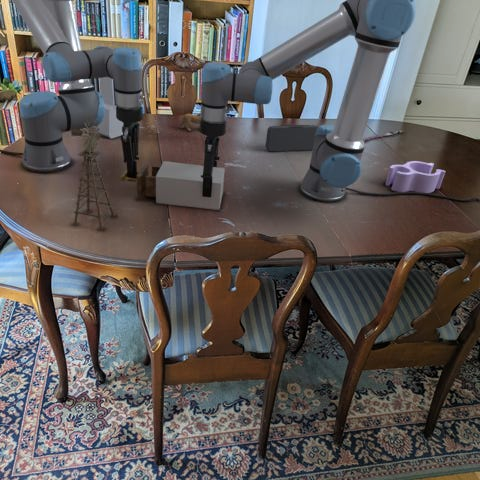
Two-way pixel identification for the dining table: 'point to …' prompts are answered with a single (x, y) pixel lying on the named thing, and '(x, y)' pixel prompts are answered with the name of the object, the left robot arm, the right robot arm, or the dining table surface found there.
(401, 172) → the clip
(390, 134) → the sword
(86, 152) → the miniature windmill
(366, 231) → the dining table surface
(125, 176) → the drawer
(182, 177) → the cabinet
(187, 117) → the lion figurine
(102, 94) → the electronic device
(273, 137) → the handheld gaming console
